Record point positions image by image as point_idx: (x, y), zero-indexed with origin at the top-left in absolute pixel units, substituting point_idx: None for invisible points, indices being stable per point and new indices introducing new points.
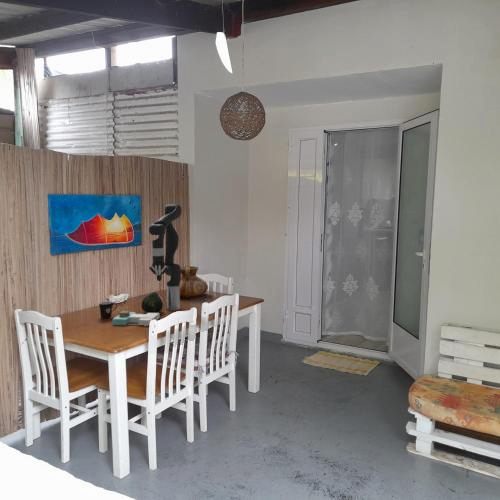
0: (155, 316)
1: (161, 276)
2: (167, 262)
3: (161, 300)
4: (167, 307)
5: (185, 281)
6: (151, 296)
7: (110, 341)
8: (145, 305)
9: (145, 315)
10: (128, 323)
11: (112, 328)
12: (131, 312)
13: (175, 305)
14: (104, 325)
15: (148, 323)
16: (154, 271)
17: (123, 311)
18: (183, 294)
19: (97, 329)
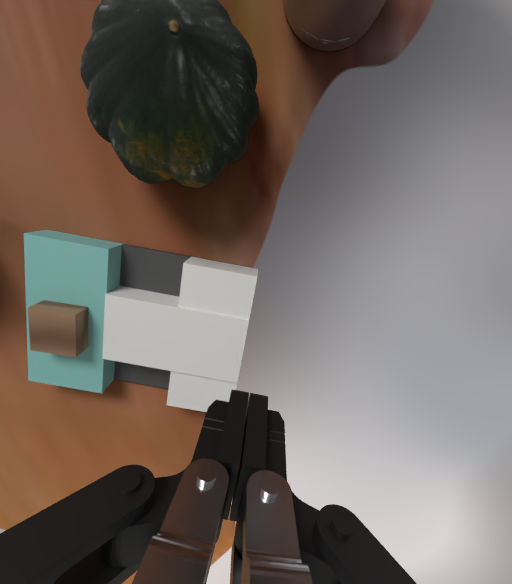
0: (243, 348)
1: (284, 461)
2: None
3: (248, 76)
4: (288, 12)
5: None
6: (154, 121)
7: None
8: (138, 178)
9: (184, 334)
10: (119, 365)
11: (72, 417)
12: (79, 250)
13: (358, 29)
14: (16, 372)
15: None
16: (78, 533)
17: (41, 318)
18: None
19: (14, 425)
